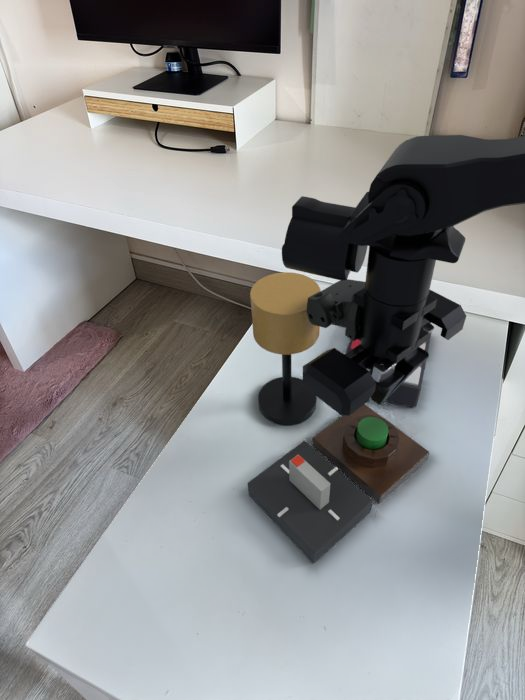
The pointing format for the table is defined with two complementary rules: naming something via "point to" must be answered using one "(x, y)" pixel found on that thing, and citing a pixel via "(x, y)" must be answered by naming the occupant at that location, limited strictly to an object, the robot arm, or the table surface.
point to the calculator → (411, 386)
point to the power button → (372, 433)
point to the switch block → (370, 454)
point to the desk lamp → (284, 342)
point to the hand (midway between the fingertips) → (378, 401)
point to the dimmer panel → (309, 503)
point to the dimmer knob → (309, 481)
